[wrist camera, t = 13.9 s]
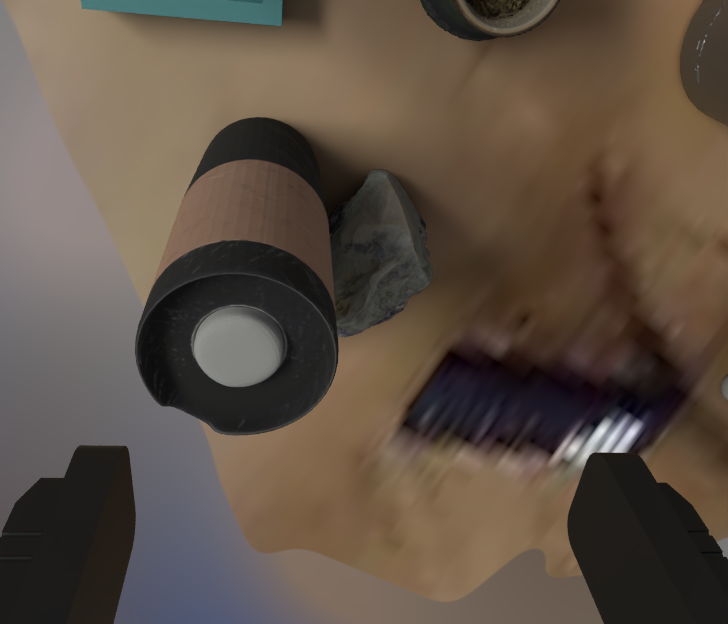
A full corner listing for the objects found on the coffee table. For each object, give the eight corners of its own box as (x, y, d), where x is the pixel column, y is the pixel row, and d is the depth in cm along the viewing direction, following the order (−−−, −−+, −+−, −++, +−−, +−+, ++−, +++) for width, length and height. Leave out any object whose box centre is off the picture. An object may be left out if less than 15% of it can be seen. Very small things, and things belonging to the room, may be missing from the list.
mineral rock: (244, 325, 48) (233, 418, 39) (213, 180, 42) (192, 252, 33) (425, 303, 48) (453, 390, 39) (418, 157, 42) (450, 222, 34)
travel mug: (312, 102, 40) (324, 252, 23) (331, 220, 44) (354, 422, 27) (183, 122, 40) (100, 286, 23) (215, 238, 44) (164, 452, 27)
